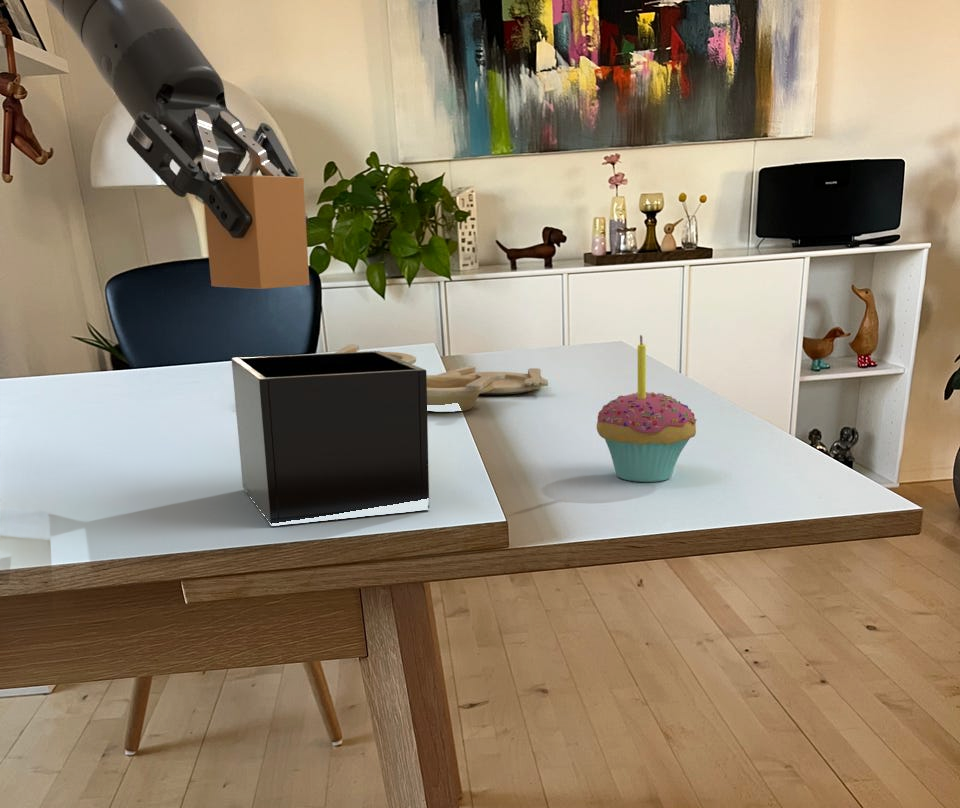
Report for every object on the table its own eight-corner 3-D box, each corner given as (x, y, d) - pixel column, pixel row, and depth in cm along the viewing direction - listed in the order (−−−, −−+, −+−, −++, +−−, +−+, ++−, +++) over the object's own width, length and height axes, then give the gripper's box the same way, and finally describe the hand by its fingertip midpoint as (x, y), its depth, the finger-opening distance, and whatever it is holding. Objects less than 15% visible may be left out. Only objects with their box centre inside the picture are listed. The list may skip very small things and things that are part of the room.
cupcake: (672, 492, 85) (682, 340, 81) (577, 480, 89) (582, 335, 85) (704, 471, 92) (716, 330, 88) (615, 460, 96) (621, 325, 91)
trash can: (271, 527, 76) (259, 379, 72) (242, 489, 87) (231, 358, 82) (429, 511, 80) (426, 369, 76) (384, 476, 91) (379, 350, 87)
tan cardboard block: (260, 289, 80) (252, 175, 77) (211, 286, 83) (201, 176, 80) (309, 285, 84) (303, 177, 81) (260, 282, 87) (253, 178, 84)
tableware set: (221, 407, 123) (218, 371, 121) (326, 372, 149) (325, 343, 147) (509, 423, 113) (509, 385, 112) (567, 383, 139) (568, 352, 138)
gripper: (94, 11, 75) (226, 191, 73) (240, 37, 86) (358, 194, 84) (59, 98, 80) (182, 268, 78) (202, 112, 91) (313, 262, 89)
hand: (273, 229), depth 81 cm, fingers closed on tan cardboard block, 5 cm apart
